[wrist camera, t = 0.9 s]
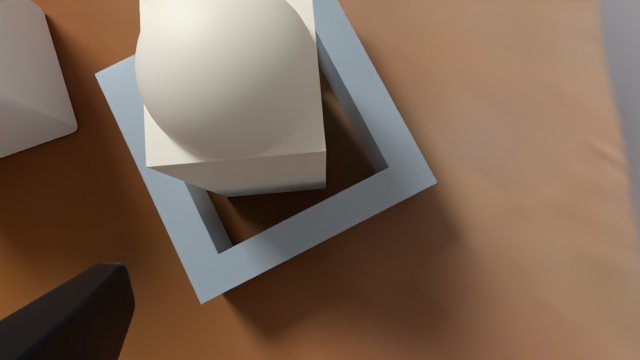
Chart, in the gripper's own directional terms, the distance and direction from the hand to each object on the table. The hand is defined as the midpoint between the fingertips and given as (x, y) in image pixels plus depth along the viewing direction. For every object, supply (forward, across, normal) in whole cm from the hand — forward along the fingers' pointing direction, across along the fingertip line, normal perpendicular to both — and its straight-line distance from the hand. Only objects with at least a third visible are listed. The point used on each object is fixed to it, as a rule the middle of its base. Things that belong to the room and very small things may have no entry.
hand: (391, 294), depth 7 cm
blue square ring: (+15, +4, +4) cm, 16 cm away
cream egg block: (+15, +4, +4) cm, 16 cm away
